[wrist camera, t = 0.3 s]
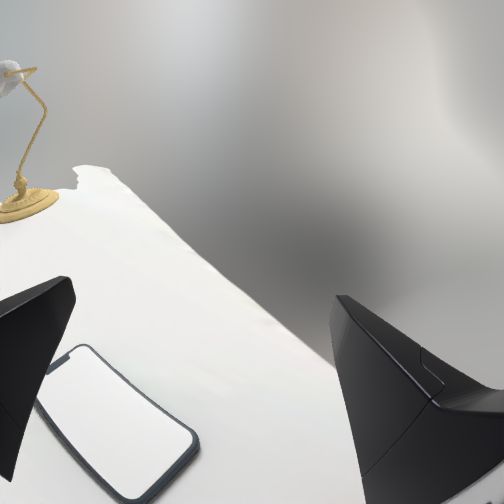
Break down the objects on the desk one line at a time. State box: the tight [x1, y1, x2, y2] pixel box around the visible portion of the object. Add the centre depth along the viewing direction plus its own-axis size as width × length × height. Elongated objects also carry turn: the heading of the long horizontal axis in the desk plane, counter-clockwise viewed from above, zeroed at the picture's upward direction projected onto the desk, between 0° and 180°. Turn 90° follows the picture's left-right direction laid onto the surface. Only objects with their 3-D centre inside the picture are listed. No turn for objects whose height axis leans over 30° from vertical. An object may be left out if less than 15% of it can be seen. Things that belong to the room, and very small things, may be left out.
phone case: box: [35, 344, 200, 504], centre depth 19 cm, size 9×2×16 cm
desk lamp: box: [0, 60, 59, 223], centre depth 50 cm, size 31×23×40 cm
